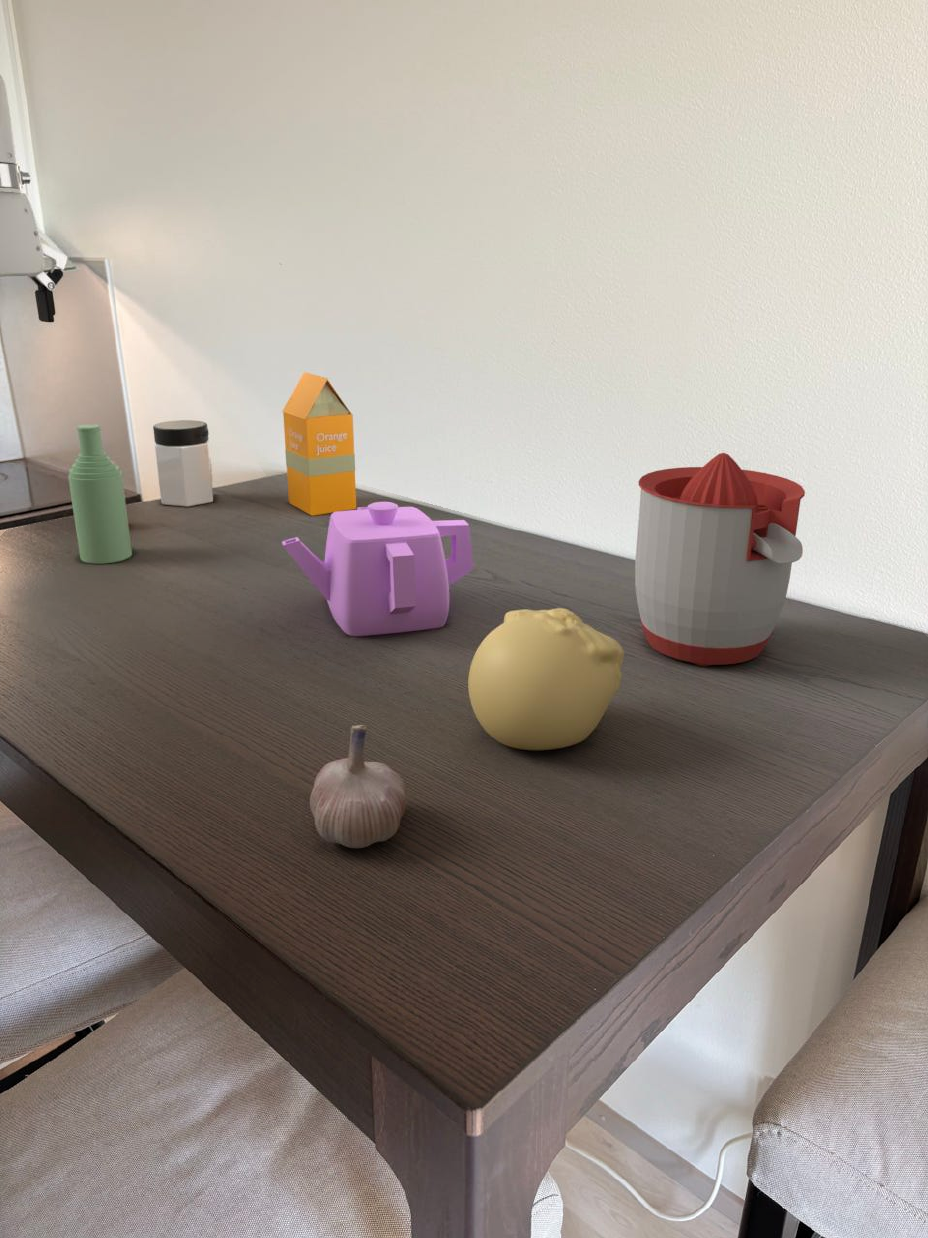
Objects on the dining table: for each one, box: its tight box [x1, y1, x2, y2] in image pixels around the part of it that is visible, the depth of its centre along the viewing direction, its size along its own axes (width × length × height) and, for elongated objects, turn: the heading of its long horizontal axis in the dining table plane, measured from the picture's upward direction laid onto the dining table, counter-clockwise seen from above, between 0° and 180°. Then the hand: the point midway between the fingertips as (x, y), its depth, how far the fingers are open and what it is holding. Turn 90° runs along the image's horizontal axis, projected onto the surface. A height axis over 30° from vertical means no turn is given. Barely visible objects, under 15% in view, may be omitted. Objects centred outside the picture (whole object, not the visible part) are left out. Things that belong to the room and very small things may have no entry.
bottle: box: [67, 423, 133, 565], centre depth 122 cm, size 6×6×17 cm
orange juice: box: [281, 371, 357, 516], centre depth 146 cm, size 8×9×20 cm
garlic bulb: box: [309, 724, 407, 849], centre depth 66 cm, size 8×7×8 cm
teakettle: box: [281, 501, 474, 637], centre depth 105 cm, size 17×17×12 cm
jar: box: [152, 419, 214, 508], centre depth 150 cm, size 9×8×12 cm
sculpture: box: [467, 607, 625, 751], centre depth 79 cm, size 12×12×11 cm
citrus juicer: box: [634, 452, 806, 667], centre depth 94 cm, size 16×17×20 cm
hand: (10, 323), depth 125 cm, fingers open, 9 cm apart
